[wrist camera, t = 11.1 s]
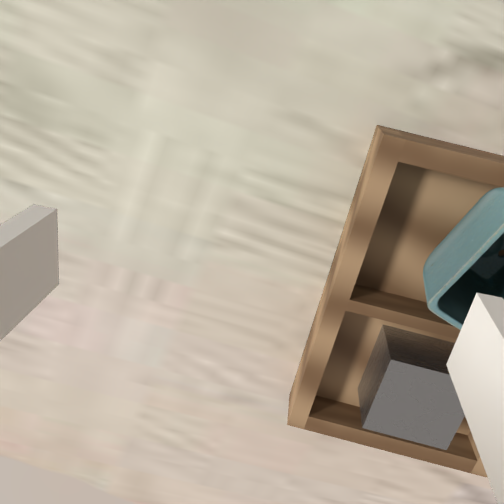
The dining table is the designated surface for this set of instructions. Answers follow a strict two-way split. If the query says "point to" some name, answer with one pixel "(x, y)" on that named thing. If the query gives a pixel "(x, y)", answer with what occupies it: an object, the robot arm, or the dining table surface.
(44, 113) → the dining table surface
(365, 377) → the grey metal block
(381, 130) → the wooden divided tray
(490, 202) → the flower pot
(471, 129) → the dining table surface
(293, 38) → the dining table surface
